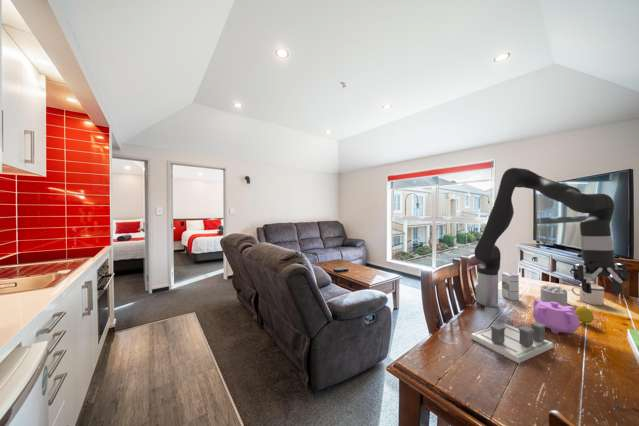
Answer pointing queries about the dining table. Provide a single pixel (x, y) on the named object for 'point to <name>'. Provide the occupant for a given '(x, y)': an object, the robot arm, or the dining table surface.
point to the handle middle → (526, 336)
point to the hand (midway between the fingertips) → (601, 292)
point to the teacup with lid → (592, 294)
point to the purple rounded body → (556, 316)
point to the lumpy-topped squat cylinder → (554, 294)
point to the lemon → (584, 315)
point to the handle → (538, 331)
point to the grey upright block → (497, 334)
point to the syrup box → (510, 286)
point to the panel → (512, 344)
